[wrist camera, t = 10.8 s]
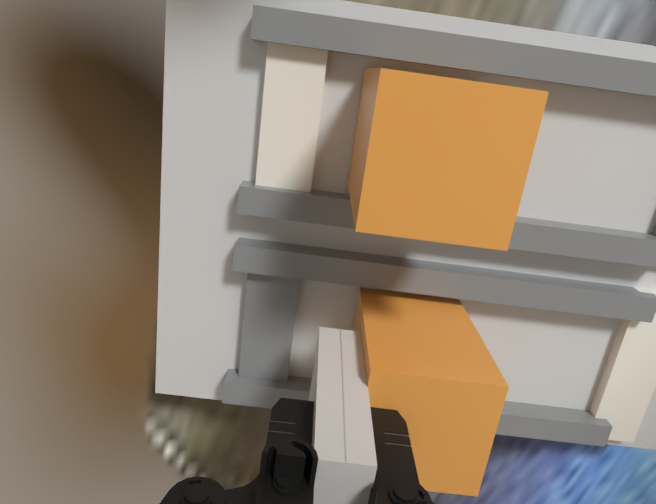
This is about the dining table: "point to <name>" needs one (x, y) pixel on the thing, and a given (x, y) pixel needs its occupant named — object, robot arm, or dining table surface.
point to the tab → (433, 383)
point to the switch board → (395, 252)
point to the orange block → (441, 157)
